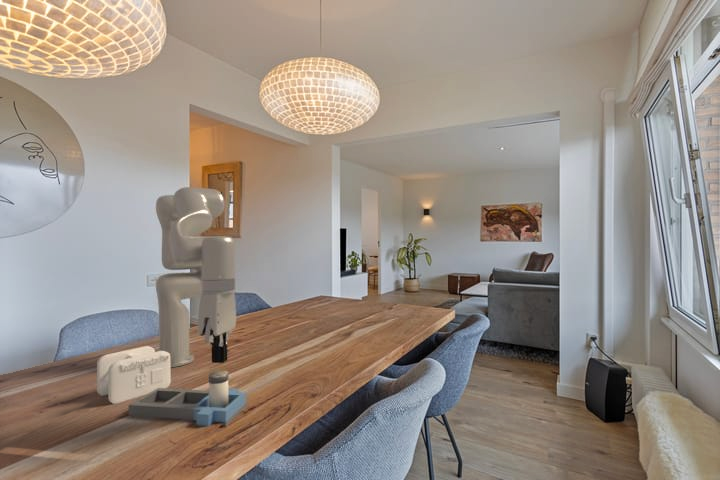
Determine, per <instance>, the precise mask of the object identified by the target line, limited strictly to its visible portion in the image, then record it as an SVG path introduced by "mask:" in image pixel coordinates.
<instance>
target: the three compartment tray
mask: <svg viewBox="0 0 720 480" xmlns="http://www.w3.org/2000/svg"><path fill="white" fill-rule="evenodd" d="M228 395H229V405H228V406H227V407H226V408H218V407H209V390H202V389H201V390H199V389H182V388H169V387H167V388H157V389H155V390H154V391H152V392H150V393H148V394H145V395H142V396H140V398H138V399H136V400H134V401H132V402H131V403H129V404H128V416H130V417H131V416H132V417H145V418H157V419H169V420H170V419H173V420H174V419H175V420H187V421H196V426H204V427H209V426H210V425H212V424H213V423H214V422H215V423H221V424H220V425H219V426H220V427H227V426H228V425H229V424H230V423H231V422H233V420H234V419H236V417H237V416H238V415H239V414H240V413H241V412H242V411H244V409H245V408H247V392H240V389H239V388H228Z"/></svg>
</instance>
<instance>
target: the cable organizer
mask: <svg viewBox="0 0 720 480" xmlns="http://www.w3.org/2000/svg"><path fill="white" fill-rule="evenodd" d="M170 385H171V367H170V354H169V353H168V352H165V351H158V352H155V350H154V348H153V347H151V346H149V345H144V346H140V347H135V348H131V349H127V350H126V349H125V350H121V351H117V352H113V353H107V354H104V355H102V356H101V357H99V359H97V362H96V392H97V394H98V395H99V396H101V397H104V396H107V395H108V397H107V398H108V401H109V402H110V403H112V404H113V405H115V404H120V403H122V402H126V401H128V400H129V401H130V400H131V399H135V398H139V397H143V396H145V395H147V394H148V393H150V392H152V391H154V390H155V389H157V388H169V386H170Z"/></svg>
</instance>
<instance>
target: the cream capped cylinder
mask: <svg viewBox="0 0 720 480" xmlns="http://www.w3.org/2000/svg"><path fill="white" fill-rule="evenodd" d="M228 389H229V371H227V370H216V371H213V372H210V373H209V374H208V391H209V407H218V408H226V407H227V406H228V405H229V395H228Z"/></svg>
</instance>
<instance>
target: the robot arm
mask: <svg viewBox="0 0 720 480" xmlns="http://www.w3.org/2000/svg"><path fill="white" fill-rule="evenodd" d="M225 205H226V202H225V198H224V196H223V194H222V192H221V191H219V190H218V189H215V188H205V187H193V186H187V187H186V186H185V187H181V188H179V189H177V190H176V191H175V193H174V194H167V195H166V194H165V195H161V196H159V197H158V198H157V199H156V202H155V214H156V216H157V217H156V218H157V220H158V221H159V225H160V228H161V265H162V267H163V268H164V269H166V270H169V271H181V270H182V271H183V270H184V271H185V270H186V271H187V270H195V271H190V272H173V273H172V272H171V273H164V274H162V275H160V276H159V277H158V278H157V279H156V282H155V291H156V297H157V302H158V303H157V304H158V348H157V349H156V348H155V349H154V348H153V349H154V350H155V352H158V351H165V352H168V353H169V354H170V368H177V367H181V366H184V365H188V364H190V363H193V361H194V360H195V356H194V355H193V354H191V353H190V312H189V309H188V307H187V306H186V305H185V304H184V303H183V302H182V301H183V300H186V299H187V300H188V299H189V300H190V299H199V298H200V300H199V305H198V318H197V319H198V320H197V333H198V335H199V336H204V343H209V345H210V347H211V363H213V364H223V363H225V362H227V361H228V344H229V337H230V335H231V334H232V333H233V330H234V329H235V327H236V325H237V305H236V304H237V303H236V297H235V296H236V295H235V292H236V276H235V275H236V274H235V273H236V268H235V267H236V265H235V264H236V262H235V261H236V259H235V257H236V256H235V250H236V249H235V248H236V247H235V246H236V245H235V240H234V238H233V237H232V236H228V235H227V236H226V235H225V236H224V235H220V236H218V235H217V236H216V235H215V236H199V235H200V234H203V233H204V232H206V231H208V230H209V229H210V228H211V226H212V225H213V220H215V219H216V218H218V217H219V216H221V215H222V213H224V210H225Z"/></svg>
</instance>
